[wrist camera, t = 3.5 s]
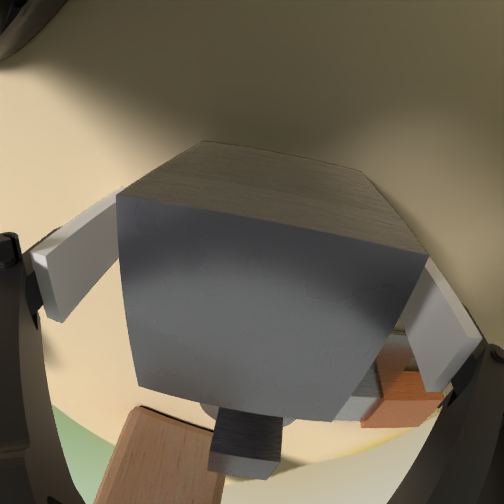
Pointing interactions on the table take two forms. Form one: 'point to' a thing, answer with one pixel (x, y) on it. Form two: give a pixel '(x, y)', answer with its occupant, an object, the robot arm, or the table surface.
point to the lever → (355, 409)
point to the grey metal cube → (260, 279)
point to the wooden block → (160, 464)
